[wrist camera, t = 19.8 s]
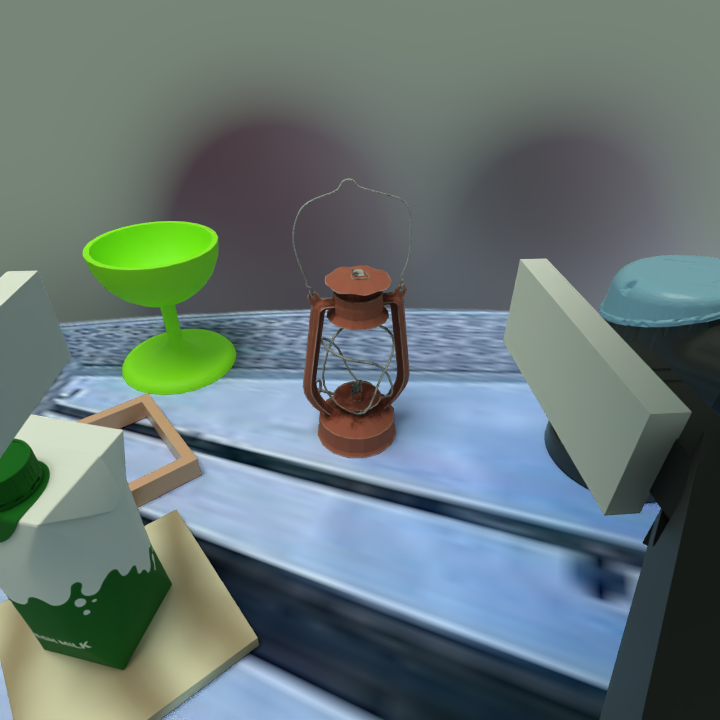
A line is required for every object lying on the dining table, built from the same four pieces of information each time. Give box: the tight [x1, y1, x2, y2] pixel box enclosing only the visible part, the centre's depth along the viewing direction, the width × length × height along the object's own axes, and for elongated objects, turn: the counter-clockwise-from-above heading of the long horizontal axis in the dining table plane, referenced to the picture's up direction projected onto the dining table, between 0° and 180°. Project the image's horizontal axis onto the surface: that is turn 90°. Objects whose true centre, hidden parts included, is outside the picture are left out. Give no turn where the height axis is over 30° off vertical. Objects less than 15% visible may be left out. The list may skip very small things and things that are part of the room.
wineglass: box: [83, 221, 236, 395], centre depth 68 cm, size 16×16×18 cm
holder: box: [77, 394, 201, 508], centre depth 55 cm, size 14×14×2 cm
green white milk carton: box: [0, 414, 172, 670], centre depth 35 cm, size 9×9×20 cm
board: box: [0, 510, 259, 720], centre depth 41 cm, size 16×16×1 cm
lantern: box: [293, 179, 411, 458], centre depth 53 cm, size 10×10×30 cm
